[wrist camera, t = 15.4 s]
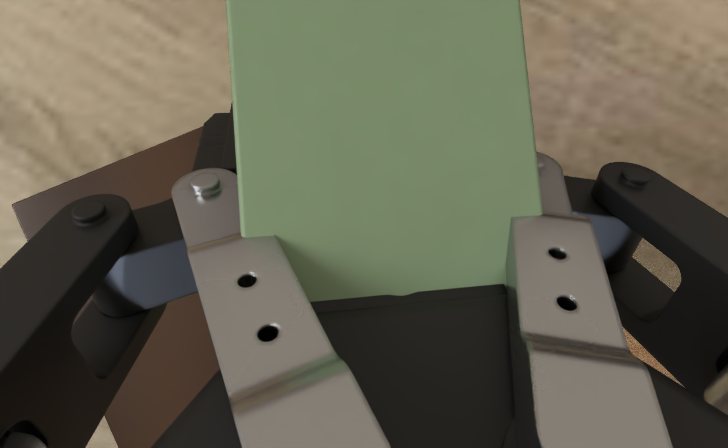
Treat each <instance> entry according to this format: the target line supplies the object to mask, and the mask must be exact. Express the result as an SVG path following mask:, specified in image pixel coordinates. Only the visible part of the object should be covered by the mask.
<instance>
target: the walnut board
mask: <svg viewBox="0 0 728 448" xmlns="http://www.w3.org/2000/svg"><path fill="white" fill-rule="evenodd" d="M202 130H203V127H200V128H198V129H195V130H193V131H190V132H188V133H186V134H183V135H181V136H178V137H176V138H173V139H171V140H168V141H166V142H163V143H161V144H159V145H156V146H154V147H151V148H149V149H146V150H144V151H141V152H139V153H136V154H134V155H131V156H129V157H127V158H124V159H122V160H119V161H117V162H114V163H112V164H109V165H107V166H104V167H102V168H100V169H97V170H95V171H92V172H90V173H87V174H85V175H82V176H80V177H77V178H75V179H73V180H70V181H68V182H65V183H63V184H60V185H58V186H55V187H53V188H50V189H48V190H46V191H43V192H41V193H38V194H36V195H33V196H31V197H28V198H26V199H23V200H21V201H19V202H16V203H14V204H12V207H13V209H14V212H15V214H16V216H17V219H18V221H19V223H20V225H21V228H22V230H23V232H24V234H25V237H26V239H27V241H29V240H30V239H31V238H32V237H33V236H34V235H35V234H36V233H37V232H38V231H39V230H40V229H41V228H42V227H43V226H44V225H45V224H46V223H47V222H48V221H49V220H50V219H51V218H52V217H53V216H54V215H55V214H56V213H57V212H58V211H60V210H61V209H62V208H63V207H65V206H66V205H68V204H70V203H72V202H73V201H76V200H78V199H81V198H84V197H87V196H91V195H97V194H114V195H118V196H121V197H123V198H125V199H126V200H127V201H128V202H129V204H130V206H131V209H132V210H135V209H139V208H142V207H146V206H150V205H154V204H157V203H160V202H163V201H166V200H168V199H170V198H172V194H171V191H172V187H173V185H174V184H175V183H176V181H178V180H179V179H180V178H181V177H183V176H184V175H186V174H188V173H191V172H192V169H193V165H194V161H195V157H196V153H197V149H198V146H199V142H200V138H201V134H202ZM91 300H92V297H90V298H89V299H88V301H87V302H86V303H85V305H84V306H83V307H82V309H81V310H80V311H79V313H78V314H77V316H76V317H75V319H74V322H73V324H74V323H75V322H76V320H77V319H78V318H79V316H80V315H81V314H82V312H83V311H84V310H85V308H86V307H87V306H88V304H89V303H90V302H91ZM72 326H73V325H72ZM219 369H220V366H219V362H218V359H217V355H216V352H215V348H214V345H213V341H212V338H211V334H210V331H209V327H208V324H207V320H206V317H205V313H204V310H203V306H202V303H201V299H200V296H199V292H197V293H194V294H191V295H188V296H185V297H182V298H180V299H177V300H174V301H171V302H168V303H167V307H166V309H165V311H164V313H163V315H162V316H161V318H160V320H159V321H158V323H157V325H156V327H155V328H154V330H153V332H152V333H151V335H150V337H149V339H148V340H147V342H146V344H145V346H144V347H143V349H142V351H141V352H140V354H139V356H138V358H137V359H136V361H135V363H134V364H133V366H132V368H131V370H130V371H129V373H128V375H127V376H126V378H125V380H124V382H123V383H122V385H121V387H120V389H119V390H118V392H117V394H116V395H115V397H114V399H113V401H112V402H111V404H110V406H109V407H108V409H107V411H106V413H105V414H104V416H105V418H106V420H107V422H108V425H109V427H110V429H111V432H112V434H113V436H114V438H115V441H116V443H117V445H118V447H119V448H151V447H152V445H153V444H154V443H155V442H156V441H157V440H158V439H159V437H160V436H161V435H162V434H163V433H164V432H165V431H166V429H167V428H168V427H169V426H170V425H171V424H172V423H173V421H174V420H175V419H176V418H177V417H178V416H179V415H180V413H181V412H182V411H183V410H184V409H185V408H186V407H187V405H188V404H189V403H190V402H191V401H192V400H193V399H194V397H195V396H196V395H197V394H198V393H199V392H200V391H201V389H202V388H203V387H204V386H205V385H206V384H207V383H208V381H209V380H210V379H211V378H212V377H213V376H214V375H215V373H216V372H217V371H218V370H219Z"/></svg>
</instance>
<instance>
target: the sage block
mask: <svg viewBox="0 0 728 448" xmlns="http://www.w3.org/2000/svg"><path fill="white" fill-rule="evenodd" d="M226 12H227V27H228V43H229V58H230V74H231V89H232V105H233V120H234V136H235V151H236V167H237V182H238V198H239V213H240V229H241V236H242V237H245V238H250V237H260V236H273V235H276V237H277V239H278V241H279V243H280V245H281V247H282V249H283V251H284V253H285V255H286V257H287V259H288V261H289V263H290V265H291V267H292V269H293V271H294V273H295V275H296V276H297V278H298V280H299V282H300V284H301V286H302V288H303V290H304V292H305V294H306V296H307V298H308V300H309V302H314V301H325V300H335V299H346V298H357V297H367V296H378V295H396V296H405V295H409V294H412V293H415V292H420V291H431V290H441V289H452V288H462V287H473V286H483V285H494V284H504V285H505V287H506V289H507V282H506V269H505V263H506V255H507V247H508V238H509V230H510V222H511V217H519V216H535V215H542V214H543V210H542V200H541V191H540V182H539V173H538V164H537V154H536V145H535V136H534V127H533V118H532V109H531V99H530V90H529V81H528V72H527V63H526V53H525V44H524V35H523V26H522V17H521V8H520V0H226Z"/></svg>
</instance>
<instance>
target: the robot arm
mask: <svg viewBox="0 0 728 448" xmlns="http://www.w3.org/2000/svg"><path fill="white" fill-rule="evenodd" d="M536 154H537V164H538V173H539V182H540V191H541V200H542V210H543V214H542V215H535V216H519V217H511V222H510V230H509V238H508V247H507V255H506V263H505V269H506V282H507V289H506V287H505V285H504V284H494V285H483V286H473V287H462V288H452V289H441V290H431V291H420V292H415V293H412V294H409V295H405V296H396V295H378V296H367V297H357V298H346V299H335V300H325V301H314V302H309V300H308V298H307V296H306V294H305V292H304V290H303V288H302V286H301V284H300V282H299V280H298V278H297V276H296V275H295V273H294V271H293V269H292V267H291V265H290V263H289V261H288V259H287V257H286V255H285V253H284V251H283V249H282V247H281V245H280V243H279V241H278V239H277V237H276V235H273V236H260V237H250V238H245V237H242V236H241V229H240V213H239V198H238V182H237V167H236V151H235V136H234V120H233V105H231V110H230V113H215V114H214V115H213V116H212V117H211V118H210V119H209V120H207V121H206V122H205V123H204V126H203V130H202V134H201V138H200V142H199V146H198V149H197V153H196V157H195V161H194V165H193V169H192V172H191V173H188V174H186V175H184V176H183V177H181V178H180V179H179V180H178V181H176V183H175V184H174V185H173V187H172V191H171V194H172V198H170V199H168V200H166V201H163V202H160V203H157V204H154V205H150V206H146V207H142V208H139V209H135V210H132V209H131V206H130V204H129V202H128V201H127V200H126V199H125V198H123V197H121V196H118V195H114V194H97V195H91V196H87V197H84V198H81V199H78V200H76V201H73V202H72V203H70V204H68V205H66V206H65V207H63V208H62V209H61V210H60V211H58V212H57V213H56V214H55V215H54V216H53V217H52V218H51V219H50V220H49V221H48V222H47V223H46V224H45V225H44V226H43V227H42V228H41V229H40V230H39V231H38V232H37V233H36V234H35V235H34V236H33V237H32V238H31V239H30V240H29V241H28V242H27V243H26V244H25V245H24V246H23V247H22V248H21V249H20V250H19V251H18V252H17V253H16V254H15V255H14V256H13V257H12V258H11V259H10V260H9V261H8V262H7V263H6V264H5V265H4V266H3V267H2V268H1V269H0V448H85V447H86V445H87V444H88V442H89V440H90V438H91V437H92V435H93V433H94V432H95V430H96V428H97V426H98V425H99V423H100V421H101V419H102V418H103V416H104V414H105V413H106V411H107V409H108V407H109V406H110V404H111V402H112V401H113V399H114V397H115V395H116V394H117V392H118V390H119V389H120V387H121V385H122V383H123V382H124V380H125V378H126V376H127V375H128V373H129V371H130V370H131V368H132V366H133V364H134V363H135V361H136V359H137V358H138V356H139V354H140V352H141V351H142V349H143V347H144V346H145V344H146V342H147V340H148V339H149V337H150V335H151V333H152V332H153V330H154V328H155V327H156V325H157V323H158V321H159V320H160V318H161V316H162V315H163V313H164V311H165V309H166V307H167V303H168V302H171V301H174V300H177V299H180V298H182V297H185V296H188V295H191V294H194V293H197V292H199V296H200V299H201V303H202V306H203V310H204V313H205V317H206V320H207V324H208V327H209V331H210V334H211V338H212V341H213V345H214V348H215V352H216V355H217V359H218V362H219V366H220V369H219V370H218V371H217V372H216V373H215V375H214V376H213V377H212V378H211V379H210V380H209V381H208V383H207V384H206V385H205V386H204V387H203V388H202V389H201V391H200V392H199V393H198V394H197V395H196V396H195V397H194V399H193V400H192V401H191V402H190V403H189V404H188V405H187V407H186V408H185V409H184V410H183V411H182V412H181V413H180V415H179V416H178V417H177V418H176V419H175V420H174V421H173V423H172V424H171V425H170V426H169V427H168V428H167V429H166V431H165V432H164V433H163V434H162V435H161V436H160V437H159V439H158V440H157V441H156V442H155V443H154V444H153V445H152V447H151V448H728V218H727V217H725V216H724V215H722V214H721V213H719V212H717V211H716V210H714V209H713V208H711V207H710V206H708V205H706V204H705V203H703V202H702V201H700V200H699V199H697V198H695V197H694V196H692V195H691V194H689V193H688V192H686V191H684V190H683V189H681V188H680V187H678V186H677V185H675V184H673V183H672V182H670V181H669V180H667V179H666V178H664V177H662V176H661V175H659V174H658V173H656V172H654V171H653V170H650V169H648V168H646V167H643V166H641V165H637V164H633V163H627V162H613V163H609V164H606V165H604V166H603V167H602V168H601V170H600V172H599V174H598V177H597V179H596V180H591V179H583V178H576V177H569V176H564V175H563V172H562V168H561V166H560V165H559V164H558V163H557V162H556V161H555V160H554V159H552V158H551V157H549V156H547V155H545V154H542V153H539V152H536ZM642 238H644V239H645V240H647V241H648V242H649V243H650V244H652V245H653V246H654V247H656V248H657V249H658V250H660V251H661V252H662V253H663V254H665V255H666V256H667V257H669V258H670V259H671V260H672V261H674V262H675V264H676V265H677V266H678V268H679V270H680V272H681V277H682V279H681V284H680V285H679V287H678V288H677V290H676V291H675V292H673V291H672V290H671V289H670V288H669V287H667V286H666V285H665V284H664V283H663V282H661V281H660V280H659V279H658V278H657V277H655V276H654V275H653V274H652V273H650V272H649V271H648V270H647V269H646V268H644V267H643V266H642V265H641V264H640V263H638V262H637V261H636V260H635V259H633V258H632V255H633V254H634V252H635V250H636V248H637V246H638V245H639V243H640V241H641V239H642ZM90 297H92V300H91V302H90V303H89V304H88V306H87V307H86V308H85V310H84V311H83V312H82V314H81V315H80V316H79V318H78V319H77V320H76V322H75V323H74V324H73V322H74V319H75V317H76V316H77V314H78V313H79V311H80V310H81V309H82V307H83V306H84V305H85V303H86V302H87V301H88V299H89V298H90ZM72 325H73V326H72ZM622 326H623V327H624V328H625V329H626V330H627V331H628V332H629V333H630V334H631V335H632V336H633V337H634V338H635V339H636V340H637V341H638V342H639V343H640V344H641V345H642V346H643V347H644V348H645V349H646V350H647V351H648V352H649V353H650V354H651V355H652V356H653V357H654V358H655V359H656V360H657V361H658V362H659V363H661V364H662V365H663V366H664V367H665V368H666V369H667V370H668V371H669V372H670V373H671V374H672V375H673V376H674V377H675V378H676V379H677V380H678V381H679V382H680V383H681V384H682V385H683V386H684V387H685V388H684V387H683V386H681V385H680V384H678V383H676V382H675V381H673V380H672V379H670V378H668V377H667V376H665V375H664V374H662V373H661V372H659V371H657V370H656V369H654V368H653V367H651V366H650V365H648V364H646V363H645V362H643V361H642V360H640V359H639V358H637V357H635V356H634V355H633V354H632V353H631V352H630V350H629V348H628V345H627V341H626V338H625V335H624V331H623V328H622Z"/></svg>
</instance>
